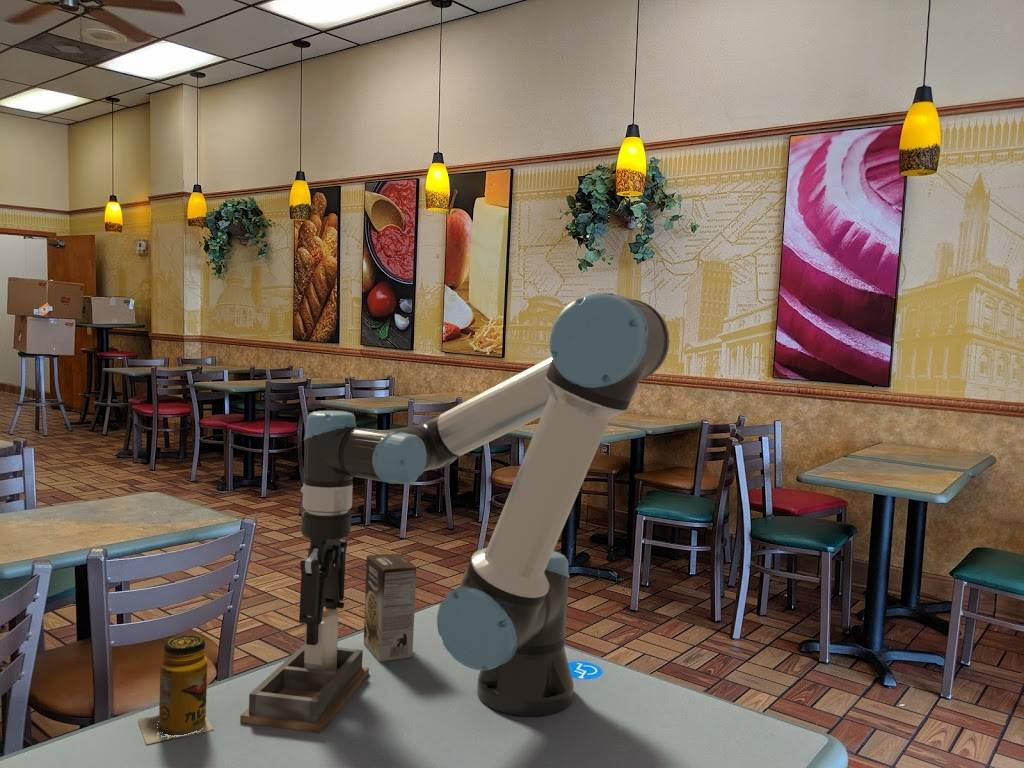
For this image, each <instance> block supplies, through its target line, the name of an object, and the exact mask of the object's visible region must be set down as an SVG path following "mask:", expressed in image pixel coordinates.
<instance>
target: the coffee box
mask: <svg viewBox="0 0 1024 768" xmlns="http://www.w3.org/2000/svg"><path fill="white" fill-rule="evenodd" d="M365 562H366V563H365V564H366V565H365V568H366V569H365V593H364V594H365V596H364V597H365V599H364V621H363V623H364V625H363V626H364V627H363V644H364V645H365V646H366V648H367V649H368V650H369V651H370V653H371V654H372V655H373V656H374V657H375V658H376V660H377V661H378V663H379V662H382V663H383V662H386V661H387V662H388V661H394V660H401V659H402V660H403V659H407V658H412V657H413V649H414V648H413V646H414V645H413V644H414V629H415V627H414V626H415V625H414V624H415V613H416V612H415V611H416V609H415V608H416V607H415V606H416V590H417V589H416V587H417V570H418V569H417V568H418V567H417V566H416V565H415V564H413V562H411V561H409V560H408V558H406V557H404V556H403V555H402V554H401V553H399V552H398V553H390V554H389V553H380V554H370V555H366V561H365Z"/></svg>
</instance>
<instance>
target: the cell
mask: <svg viewBox="0 0 1024 768" xmlns="http://www.w3.org/2000/svg"><path fill="white" fill-rule="evenodd" d="M339 615H340V614H339V612H338V613H337V612H336V611H333V610H329V609H327V608H326V607H324V608H323V615H322V622H324V643H323V663H322V664H321V665H317V664H309V663H304V668H307V669H316V670H325V671H333V672H336V671H337V647H338V640H339V637H338V636H339V618H340V617H339ZM305 629H306V627H305Z"/></svg>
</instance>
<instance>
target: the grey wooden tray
mask: <svg viewBox="0 0 1024 768" xmlns="http://www.w3.org/2000/svg"><path fill="white" fill-rule="evenodd" d="M363 651H364V649H358V648H357V649H356V648H348V647H338V646H337V671H336V672H333V671H325V670H316V669H307V668H304V653H305V643H303V644H302V645H301V646H300V647H299V648H298V649H297V650H296V651H294V652H293V654H291V655H290V656H289V657H288V658H287V659H286V660H284V662H283V663H281V664H280V665H279V666H278V667H277V668H276V669H275V670H274V671H272V672H271V673H270V674H269V675H268V676H267V677H266V678H265V679H264V680H263V681H262V682H261V683H260V684H259V685H258V686H256V687H255V688H253V690H251V692H250V693H249V695H248V696H249V697H248V698H249V699H248V707H247V708H246V709H245V710H244V711H243V712H242V713H241V714H240V715H239V716H240V717H239V718H240V719H239V722H240V723H244V724H250V725H251V724H252V725H259V726H265V727H276V728H281V727H282V729H289V728H290V729H291V730H299V731H305V732H314V733H321V734H322V732H323V731H324V730H325V729H326V728H327V726H328V725H329V724H330V722H331V721H332V720H333V718H334V717H335V716H336V715H337V713H338V712H339V711H340V710H341V708H343V706H344V705H345V704H346V702H347V701H348V700H349V699H350V698H351V696H353V693H355V691H356V690H357V689H358V688H359V686H360V685H361V684H362V683H363V681H364V680H365V678H367V676H368V675H369V672H370V671H369V670H370V667H368V666H363V655H364V654H363Z"/></svg>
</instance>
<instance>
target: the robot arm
mask: <svg viewBox="0 0 1024 768" xmlns="http://www.w3.org/2000/svg"><path fill="white" fill-rule="evenodd" d="M669 348H670V332H669V329H668V326H667V323H666V321H665V320H664V318H663V316H662V315H661V314H660V312H658V311H657V310H656V309H655V308H654V307H652V306H651V305H650V304H648V303H646V302H643V301H641V300H637V299H633V298H632V299H631V298H627V297H625V296H623V295H619V294H615V293H612V292H611V293H609V292H601V293H599V292H598V293H592V294H588V295H587V294H586V295H584V296H581V297H579V298H577V299H575V300H573V301H572V302H570V303H568V305H567V306H565V307H564V308H563V309H562V310H561V312H560V313H559V314H558V315H557V317H556V319H555V321H554V323H553V324H552V327H551V330H550V335H549V351H550V354H551V356H550V357H548V358H547V359H545V360H543V361H541V362H538V363H536V364H534V365H533V366H531V367H529V368H527V369H525V370H523V371H521V372H519V373H518V374H516V375H514V376H512V377H509V378H507V379H506V380H504V381H503V382H500V383H499V384H497V385H494V386H492V387H491V388H488V389H487V390H485V391H483V392H481V393H478V394H477V395H475V396H473V397H472V398H469V399H468V400H465V401H464V402H462V403H459V404H458V405H456V406H454V407H452V408H451V409H449V410H446V411H445V412H443V413H441V414H440V415H437V416H435V417H433V418H431V419H430V420H429V419H428V420H427V421H425V422H424V423H421V424H418V425H412V426H407V427H406V426H405V427H400V428H392V429H386V430H385V429H383V430H382V429H381V430H380V429H372V428H371V429H370V428H363V427H359V426H358V427H357V423H356V416H355V414H354V413H353V412H349V411H343V410H341V411H340V410H317V411H312V412H310V413H309V414H308V416H307V417H306V422H305V433H304V437H303V443H304V449H303V450H304V452H303V453H304V455H303V456H304V457H303V463H304V465H303V467H304V468H303V473H304V474H303V483H302V484H303V486H301V488H300V492H301V493H302V508H303V509H304V510H303V512H301V523H300V524H301V525H300V526H301V529H300V532H301V535H302V536H303V537H304V538H307V539H309V540H310V543H309V544H310V545H309V548H308V553H307V558H302V559H301V560H300V562H299V563H300V564H299V566H300V567H299V568H300V574H301V575H300V596H299V597H300V598H299V617H298V618H299V619H298V621H299V623H300V624H305V628H306V629H305V631H304V632H305V633H304V644H305V653H304V663H309V664H317V665H321V664H322V663H323V643H324V622H322V615H323V608H327V609H329V610H333V611H336V612H337V613H338V614H339V609H344V608H345V602H342V601H343V600H344V598H345V581H346V580H345V579H346V578H345V575H346V556H347V554H346V553H347V549H348V548H347V547H348V540H345V539H344V538H346V537H348V536H349V535H350V534H351V523H352V513H351V512H350V509H351V508H352V507H353V483H354V482H353V479H354V478H361V479H367V480H372V481H377V482H384V483H388V484H391V485H395V484H403V485H410V484H413V483H415V482H417V480H418V478H419V477H421V475H423V473H424V472H427V471H431V470H439V469H443V468H445V467H447V466H449V465H451V464H452V463H454V462H455V461H456V460H457V459H458V458H460V457H461V456H462V455H465V454H467V453H470V452H471V451H474V450H475V449H477V448H480V447H482V446H483V445H485V444H488V443H490V442H492V441H494V440H496V439H499V438H501V437H503V436H504V435H507V434H509V433H511V432H512V431H514V430H517V429H518V428H521V427H524V426H526V425H527V424H529V423H532V422H534V421H535V420H537V419H539V420H538V423H537V425H536V428H535V431H534V433H533V435H532V438H531V440H530V443H529V445H528V446H527V450H526V452H525V455H524V456H523V459H522V462H521V465H520V467H519V470H518V471H517V474H516V477H515V479H514V481H513V484H512V487H511V489H510V490H509V494H508V497H507V498H506V501H505V502H504V503H505V504H504V506H503V508H502V510H501V513H500V516H499V518H498V520H497V523H496V525H495V528H494V530H493V533H492V534H491V537H490V541H488V542H489V543H488V545H487V547H483V548H481V549H479V550H476V551H474V553H472V556H471V558H470V561H469V563H468V565H467V566H466V569H465V572H464V574H463V576H462V579H461V582H460V583H459V585H458V587H456V588H454V589H451V590H450V591H449V592H448V594H446V596H445V597H444V598H443V599H442V601H441V603H440V604H439V606H438V609H437V610H438V611H437V615H436V627H437V631H438V635H439V636H440V638H441V640H442V644H443V646H444V649H446V651H447V652H448V653H449V655H450V656H452V658H453V659H454V660H456V661H457V662H458V663H459V664H461V665H463V666H464V667H466V668H469V669H471V670H475V671H479V673H478V676H477V677H478V678H477V689H476V690H477V691H476V693H477V694H476V695H477V696H478V699H479V700H480V701H481V702H482V703H483V704H485V705H486V706H488V707H490V708H491V709H493V710H495V711H499V712H502V713H505V714H509V715H515V716H522V717H523V716H524V717H525V716H526V717H539V716H546V715H551V714H556V713H558V712H561V711H562V710H566V708H568V707H569V706H570V705H571V704H572V702H573V699H574V681H573V676H572V673H571V667H570V665H569V661H568V658H567V654H566V651H565V650H566V649H565V645H566V644H565V640H566V628H567V627H566V625H567V609H568V607H567V606H568V591H569V580H570V577H571V576H570V574H569V560H568V559H567V557H566V556H565V555H564V554H562V553H560V552H558V551H554V550H555V549H556V548H555V547H556V546H557V543H558V541H559V538H560V536H561V535H562V532H563V530H564V527H565V525H566V522H567V520H568V517H569V515H570V514H571V510H572V509H573V506H574V504H575V502H576V499H577V497H578V495H579V492H580V490H581V487H582V485H583V483H584V481H585V479H586V476H587V474H588V472H589V469H590V467H591V464H592V461H593V460H594V458H595V455H596V453H597V450H598V448H599V446H600V444H601V441H602V439H603V437H604V435H605V432H606V430H607V427H608V424H609V423H610V421H611V419H612V418H614V417H616V416H619V415H621V414H623V413H626V412H627V410H628V408H629V405H630V404H631V401H632V399H633V396H634V394H635V392H636V391H637V390H636V389H637V388H638V385H639V383H640V382H641V381H642V380H645V379H648V377H650V376H652V375H653V374H654V373H656V372H657V371H658V370H659V369H660V368H661V366H662V364H663V363H664V362H665V360H666V358H667V355H668V354H669V353H668V352H669Z"/></svg>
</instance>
